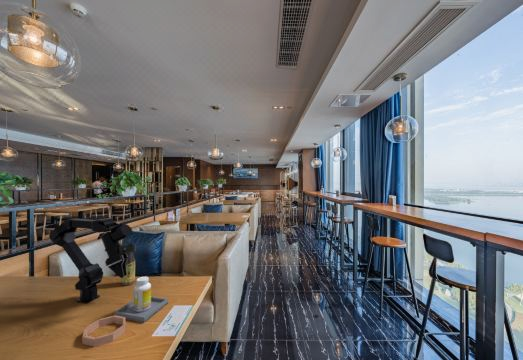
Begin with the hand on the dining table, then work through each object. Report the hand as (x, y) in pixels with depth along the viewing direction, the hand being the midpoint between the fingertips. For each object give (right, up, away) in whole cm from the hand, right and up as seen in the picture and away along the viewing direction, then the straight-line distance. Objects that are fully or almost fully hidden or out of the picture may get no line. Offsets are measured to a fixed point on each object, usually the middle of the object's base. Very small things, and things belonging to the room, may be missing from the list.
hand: (124, 276), depth 102 cm
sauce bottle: (-10, -13, +20) cm, 26 cm away
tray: (+11, -12, -5) cm, 17 cm away
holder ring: (+5, -12, -20) cm, 24 cm away
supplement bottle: (+11, -12, -5) cm, 17 cm away
